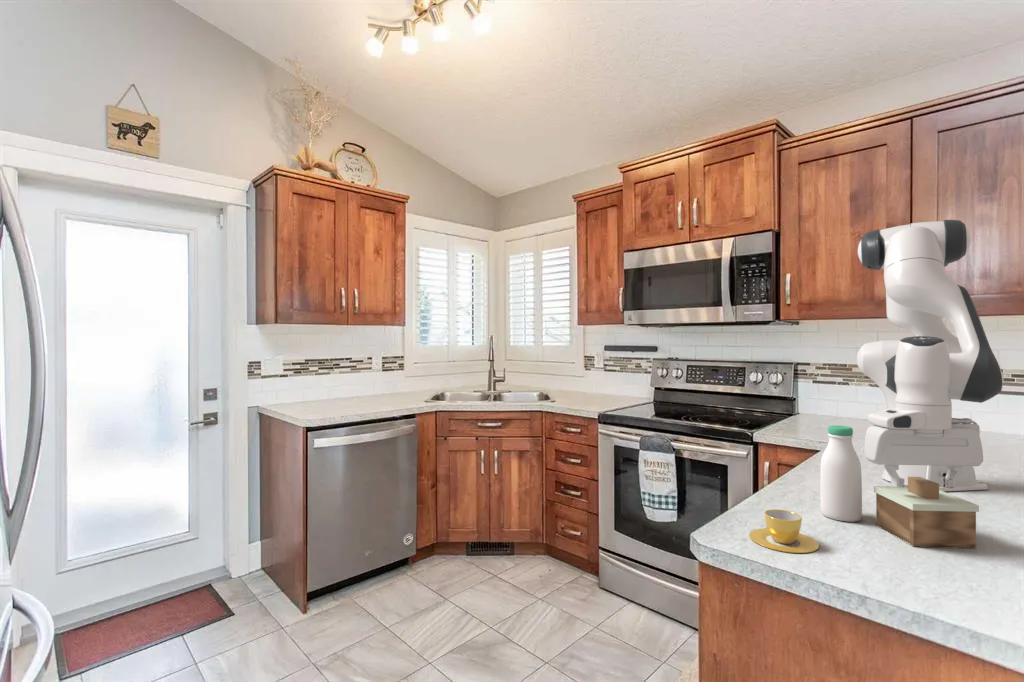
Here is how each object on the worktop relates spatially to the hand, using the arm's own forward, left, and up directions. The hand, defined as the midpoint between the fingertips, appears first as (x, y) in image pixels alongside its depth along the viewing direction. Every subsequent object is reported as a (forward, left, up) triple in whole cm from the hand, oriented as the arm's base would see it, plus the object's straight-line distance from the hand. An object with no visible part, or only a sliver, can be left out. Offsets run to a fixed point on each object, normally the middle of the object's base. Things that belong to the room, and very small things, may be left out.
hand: (922, 487), depth 99 cm
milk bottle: (+10, -11, -10) cm, 18 cm away
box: (0, 0, -10) cm, 10 cm away
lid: (0, 0, -3) cm, 3 cm away
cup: (+29, +4, -10) cm, 31 cm away
